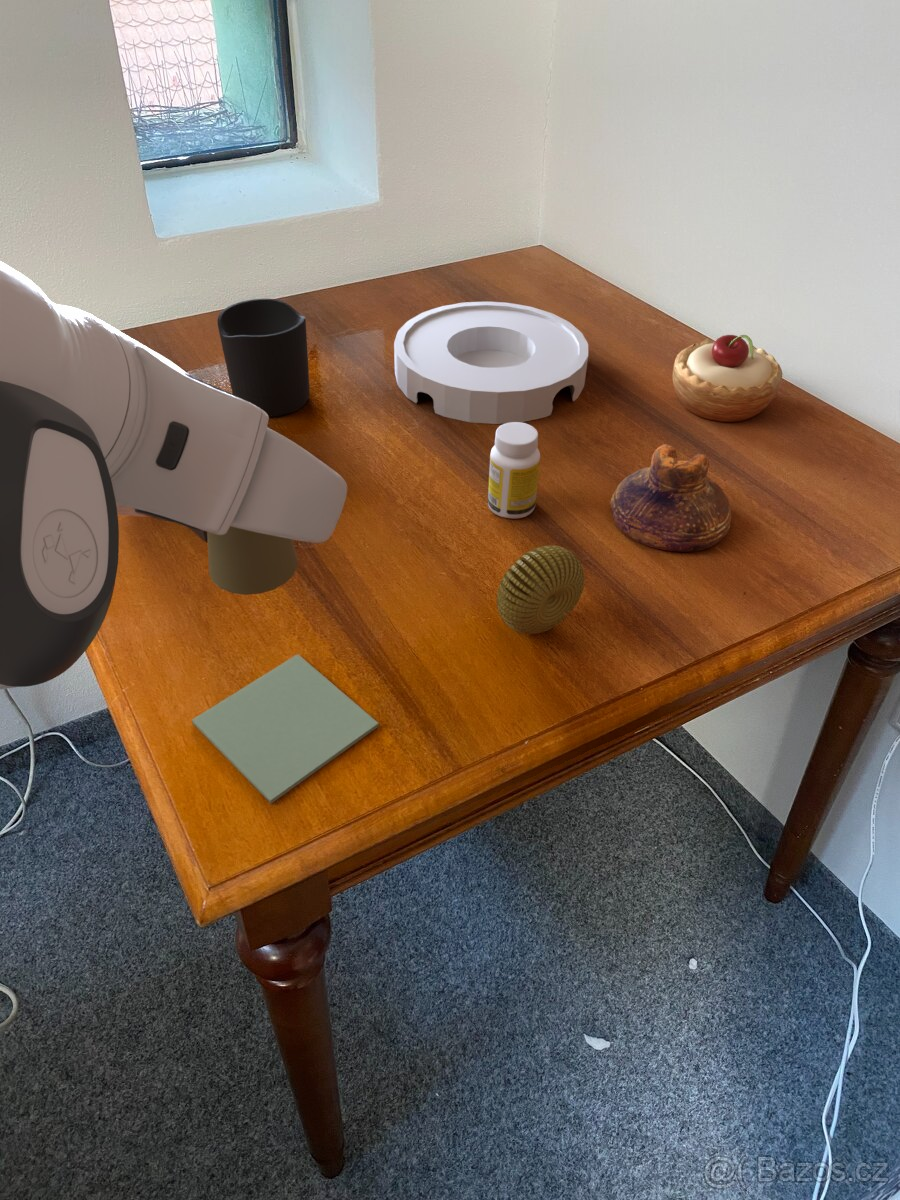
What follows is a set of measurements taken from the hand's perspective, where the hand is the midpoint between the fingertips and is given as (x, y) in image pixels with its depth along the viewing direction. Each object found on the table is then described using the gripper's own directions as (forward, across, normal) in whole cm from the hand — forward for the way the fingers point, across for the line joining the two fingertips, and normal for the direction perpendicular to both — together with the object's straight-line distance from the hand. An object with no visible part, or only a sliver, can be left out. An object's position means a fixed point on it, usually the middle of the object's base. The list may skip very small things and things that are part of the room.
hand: (246, 484), depth 56 cm
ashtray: (+51, -8, +24) cm, 57 cm away
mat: (+11, +3, -16) cm, 20 cm away
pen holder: (+39, -27, +12) cm, 49 cm away
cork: (+4, 0, -5) cm, 7 cm away
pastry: (+57, +18, +30) cm, 67 cm away
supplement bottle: (+35, +6, +8) cm, 37 cm away
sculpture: (+25, +15, -2) cm, 29 cm away
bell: (+39, +20, +12) cm, 46 cm away
